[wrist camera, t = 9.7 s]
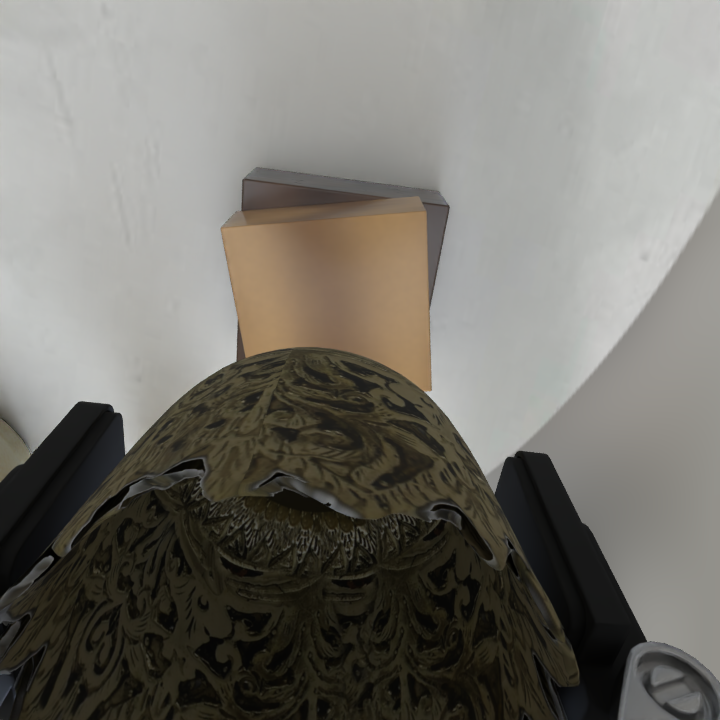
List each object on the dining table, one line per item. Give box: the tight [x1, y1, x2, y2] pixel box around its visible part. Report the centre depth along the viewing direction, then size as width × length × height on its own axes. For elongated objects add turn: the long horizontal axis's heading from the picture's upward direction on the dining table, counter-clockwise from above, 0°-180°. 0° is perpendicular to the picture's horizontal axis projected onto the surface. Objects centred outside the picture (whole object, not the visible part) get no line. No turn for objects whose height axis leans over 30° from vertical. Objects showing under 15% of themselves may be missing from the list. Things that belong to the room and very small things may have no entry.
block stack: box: [221, 167, 450, 392], centre depth 26 cm, size 10×10×6 cm
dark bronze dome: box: [0, 347, 580, 720], centre depth 11 cm, size 8×7×8 cm
